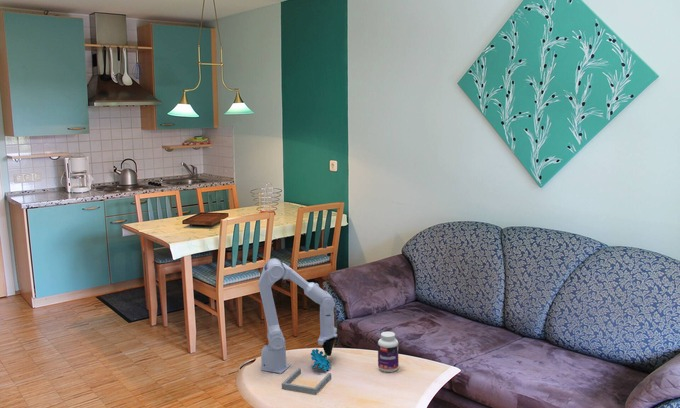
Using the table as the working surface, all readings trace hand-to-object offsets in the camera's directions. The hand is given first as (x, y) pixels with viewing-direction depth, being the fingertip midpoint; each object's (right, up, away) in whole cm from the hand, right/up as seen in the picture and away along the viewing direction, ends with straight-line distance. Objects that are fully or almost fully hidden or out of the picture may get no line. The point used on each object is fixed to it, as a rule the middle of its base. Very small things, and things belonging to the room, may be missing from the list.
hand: (328, 355), depth 242 cm
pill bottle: (+24, -4, -7) cm, 25 cm away
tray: (-7, -6, -17) cm, 19 cm away
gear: (-3, -4, -5) cm, 7 cm away
